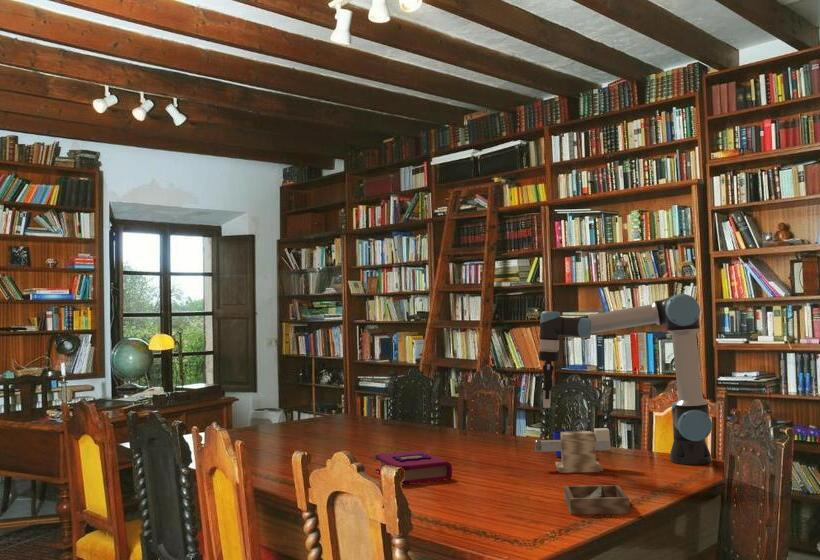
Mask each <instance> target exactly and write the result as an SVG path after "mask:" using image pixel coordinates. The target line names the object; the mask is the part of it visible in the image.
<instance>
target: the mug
mask: <svg viewBox="0 0 820 560" xmlns="http://www.w3.org/2000/svg"><path fill="white" fill-rule="evenodd" d="M560 432H572V431H571V430H570V431H569V430H558V431H553V432H552V437H553V440H561V437H560ZM554 453H555V456H556V457H557V458H561V459H562V457H561V451H554Z"/></svg>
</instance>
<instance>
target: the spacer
mask: <svg viewBox="0 0 820 560" xmlns="http://www.w3.org/2000/svg"><path fill="white" fill-rule="evenodd" d="M593 433H594V436H595V440H596V441H610V442H611V439H610V435H611V434H610V430H609V428H607V427H605V428H604V427H602V428H601V427H599V428H595V427H594V428H593Z"/></svg>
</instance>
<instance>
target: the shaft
mask: <svg viewBox="0 0 820 560" xmlns="http://www.w3.org/2000/svg"><path fill="white" fill-rule="evenodd" d="M611 444H612V443H611V440H610V441H596V440H595V451H611V450H612V447H611ZM534 448H535V453H541V452H555V451H563V450H562V440H554V439H547V440H545V439H542V440H541V439H535V440H534Z"/></svg>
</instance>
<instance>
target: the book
mask: <svg viewBox="0 0 820 560" xmlns="http://www.w3.org/2000/svg"><path fill="white" fill-rule="evenodd" d="M374 457H375V460H377V461H379V462H380V469H381V467H382V466H384V465H392V466H396V467H402V468H403V469H404V470H405V479H404V481H403V482H402V483H403V484H405V485H404V486H407V485H406V484H409V485H411V484H410V483H417V484H419V483H418V482H425V483H429V482H428V481H433V482H438V481H437V480H442V481H445V480H444V479H450V478H451V479H452V478H453V467H452V463H450V462H448V461H446V460H444V459H442V458H439V457H437V456H434V455H433V454H430V453H428V452H425V451H423V450H420V449H419V450H411V451H401V452H390V453H379V454H378V453H377V454H375V456H374ZM376 471H379V474H378V475H380V470H379V468H375V472H376ZM451 479H450V480H451Z"/></svg>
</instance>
